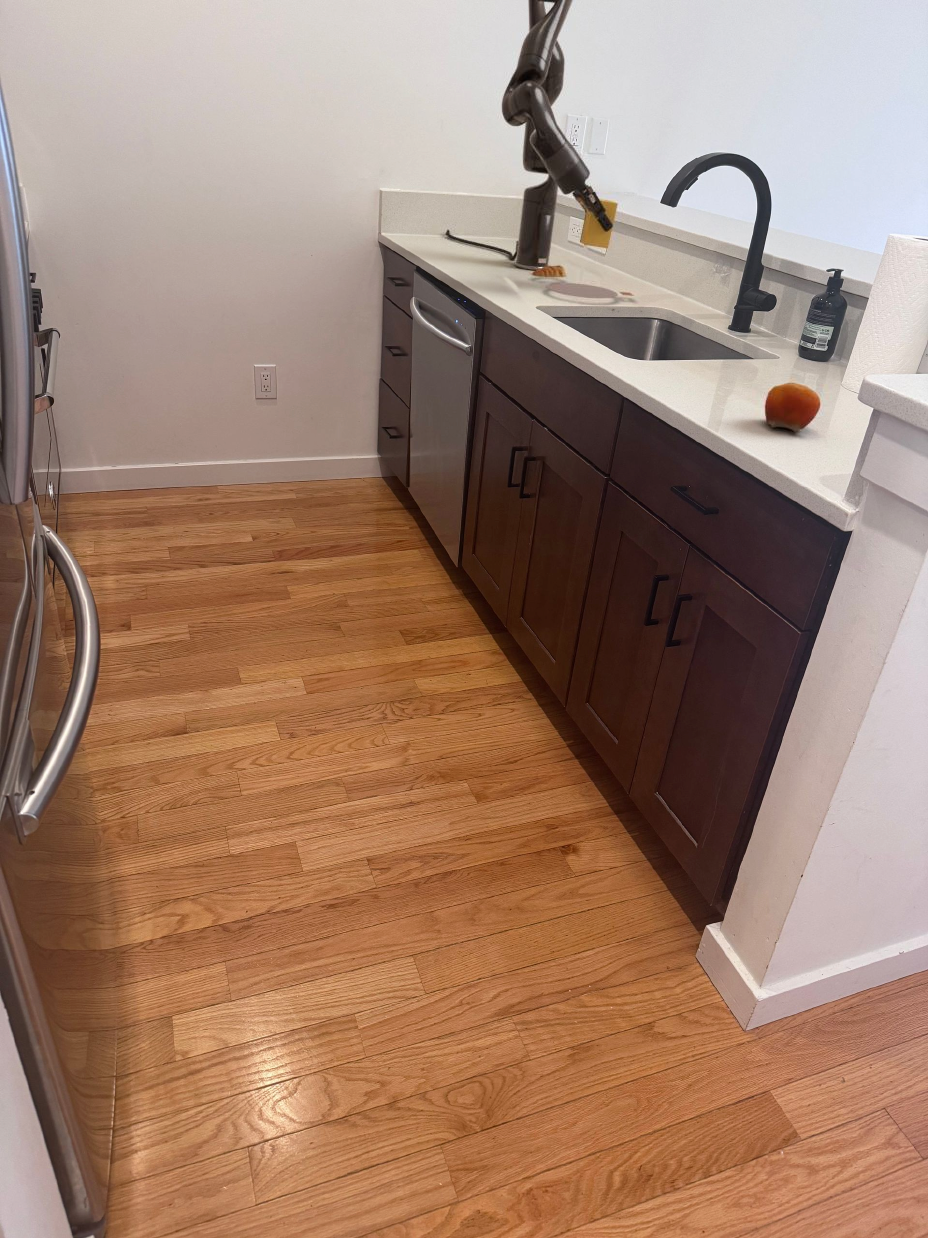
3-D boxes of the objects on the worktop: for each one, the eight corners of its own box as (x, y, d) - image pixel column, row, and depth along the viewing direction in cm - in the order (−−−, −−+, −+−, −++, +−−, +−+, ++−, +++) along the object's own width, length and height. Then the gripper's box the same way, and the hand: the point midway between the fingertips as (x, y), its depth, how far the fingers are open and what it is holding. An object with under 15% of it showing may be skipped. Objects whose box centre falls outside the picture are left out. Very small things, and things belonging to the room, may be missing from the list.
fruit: (759, 423, 133) (773, 372, 133) (755, 436, 141) (769, 388, 141) (814, 433, 131) (828, 381, 131) (807, 446, 139) (821, 397, 139)
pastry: (542, 283, 229) (544, 268, 227) (525, 278, 233) (526, 263, 231) (567, 282, 234) (570, 267, 232) (550, 277, 238) (552, 262, 237)
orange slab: (617, 297, 222) (618, 291, 221) (628, 298, 222) (630, 292, 221) (621, 301, 218) (623, 294, 217) (633, 301, 219) (634, 295, 218)
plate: (538, 286, 225) (539, 280, 224) (605, 291, 227) (606, 285, 227) (553, 301, 209) (554, 294, 209) (625, 306, 212) (626, 300, 211)
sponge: (579, 241, 214) (588, 197, 209) (602, 245, 215) (612, 200, 210) (584, 244, 210) (593, 199, 205) (608, 248, 211) (618, 203, 206)
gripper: (586, 157, 196) (628, 220, 204) (571, 152, 208) (610, 212, 216) (560, 181, 198) (602, 243, 206) (546, 175, 210) (586, 234, 218)
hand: (606, 227), depth 211 cm, fingers closed on sponge, 4 cm apart
